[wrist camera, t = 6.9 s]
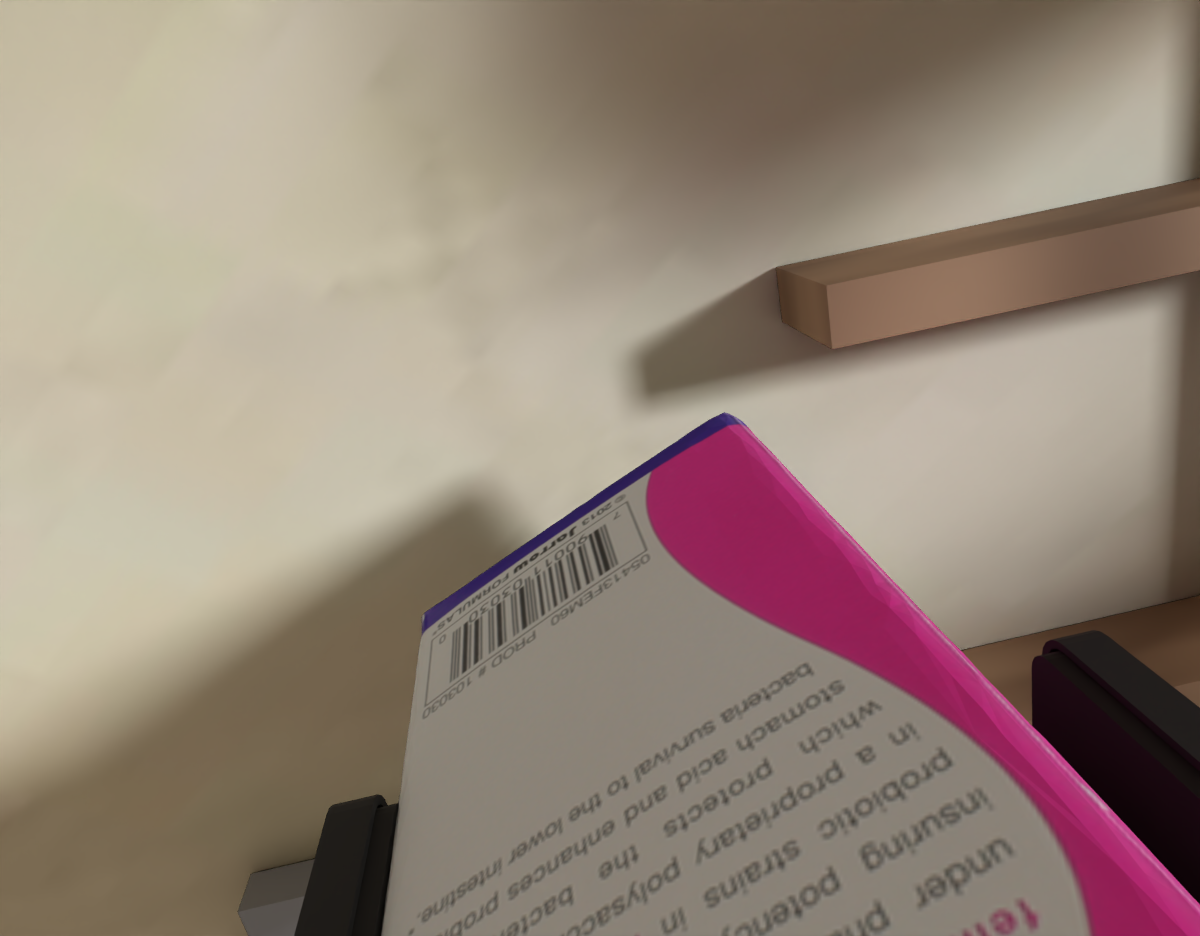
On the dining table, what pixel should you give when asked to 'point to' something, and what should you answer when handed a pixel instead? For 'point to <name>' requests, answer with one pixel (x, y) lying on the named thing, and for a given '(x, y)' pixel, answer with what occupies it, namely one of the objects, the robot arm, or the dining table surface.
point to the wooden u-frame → (1005, 283)
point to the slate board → (275, 900)
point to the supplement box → (734, 741)
